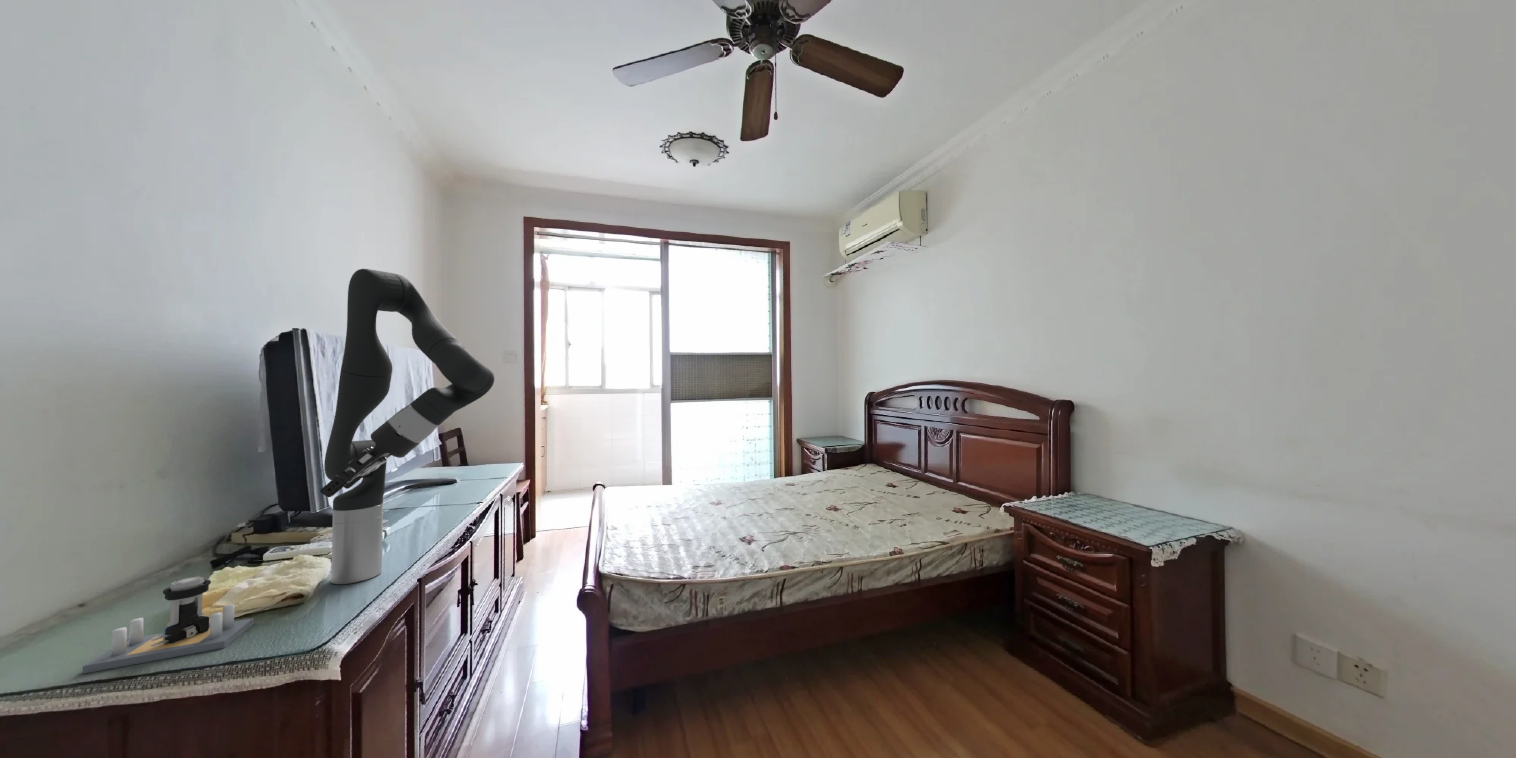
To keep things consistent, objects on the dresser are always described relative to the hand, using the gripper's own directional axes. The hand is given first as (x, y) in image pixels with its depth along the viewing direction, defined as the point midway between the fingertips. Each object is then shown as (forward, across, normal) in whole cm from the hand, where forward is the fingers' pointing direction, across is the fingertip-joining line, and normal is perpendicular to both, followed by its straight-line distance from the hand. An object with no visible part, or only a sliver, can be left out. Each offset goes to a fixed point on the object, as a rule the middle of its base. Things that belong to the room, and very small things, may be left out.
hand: (334, 490), depth 89 cm
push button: (+32, 0, +3) cm, 32 cm away
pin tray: (+33, 0, +3) cm, 33 cm away
